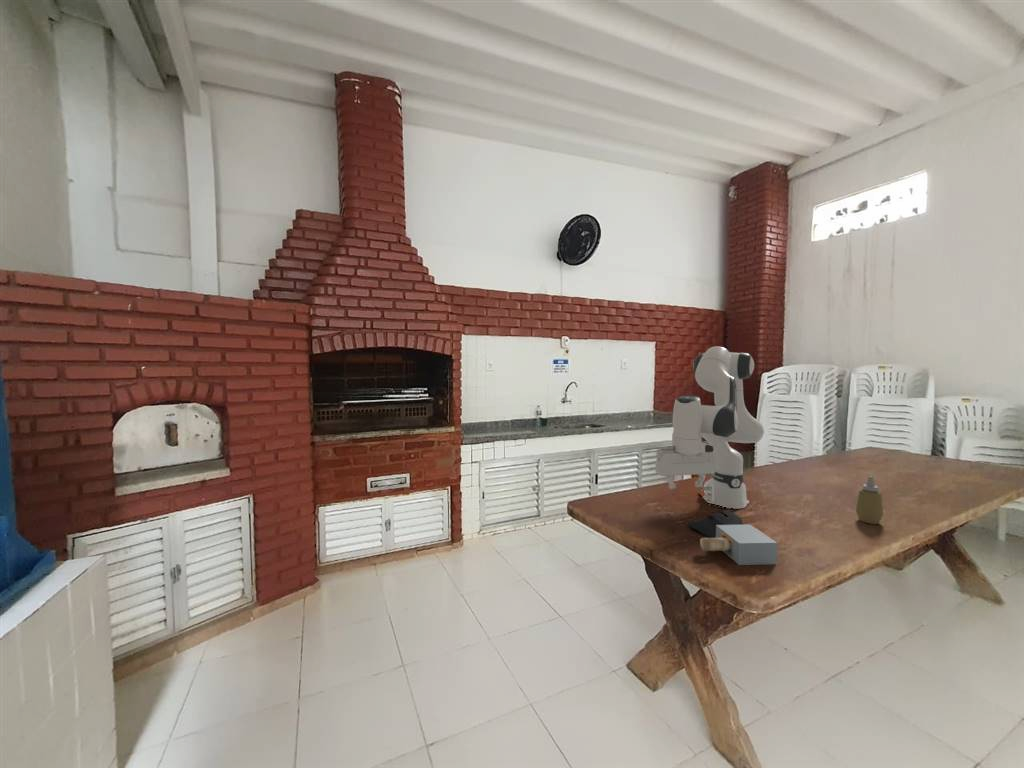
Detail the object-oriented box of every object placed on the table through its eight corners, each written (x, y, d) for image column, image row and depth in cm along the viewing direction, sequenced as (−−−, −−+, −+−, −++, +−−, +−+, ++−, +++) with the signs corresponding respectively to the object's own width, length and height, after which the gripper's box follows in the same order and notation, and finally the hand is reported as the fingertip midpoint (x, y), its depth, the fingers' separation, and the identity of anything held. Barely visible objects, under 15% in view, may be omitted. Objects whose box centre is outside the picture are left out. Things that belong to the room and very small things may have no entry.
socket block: (715, 544, 141) (716, 525, 141) (749, 543, 142) (750, 524, 141) (738, 564, 127) (739, 543, 127) (776, 564, 128) (777, 542, 127)
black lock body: (680, 526, 158) (680, 514, 158) (718, 516, 168) (718, 505, 167) (714, 542, 144) (715, 529, 144) (754, 530, 154) (754, 518, 153)
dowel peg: (699, 547, 136) (700, 535, 136) (735, 546, 136) (735, 535, 136) (705, 553, 132) (706, 541, 132) (742, 552, 132) (742, 540, 132)
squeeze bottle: (850, 519, 162) (852, 475, 161) (862, 516, 165) (864, 472, 164) (875, 527, 154) (877, 480, 153) (887, 523, 157) (889, 478, 156)
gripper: (662, 449, 127) (661, 492, 128) (720, 446, 131) (719, 489, 131) (652, 445, 133) (651, 486, 134) (708, 443, 137) (707, 483, 138)
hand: (685, 487), depth 133 cm, fingers open, 8 cm apart
